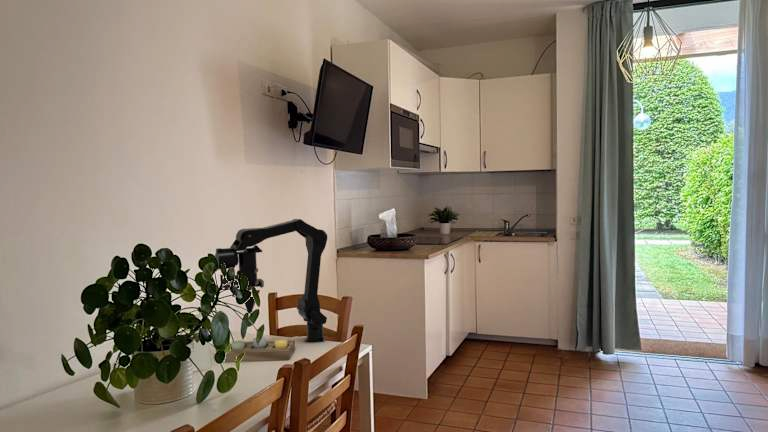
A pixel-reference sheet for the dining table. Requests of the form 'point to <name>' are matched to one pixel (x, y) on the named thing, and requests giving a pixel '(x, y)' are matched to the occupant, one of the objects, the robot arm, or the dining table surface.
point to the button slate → (261, 345)
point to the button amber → (281, 343)
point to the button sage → (238, 345)
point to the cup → (202, 353)
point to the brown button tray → (262, 352)
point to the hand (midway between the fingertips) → (249, 313)
